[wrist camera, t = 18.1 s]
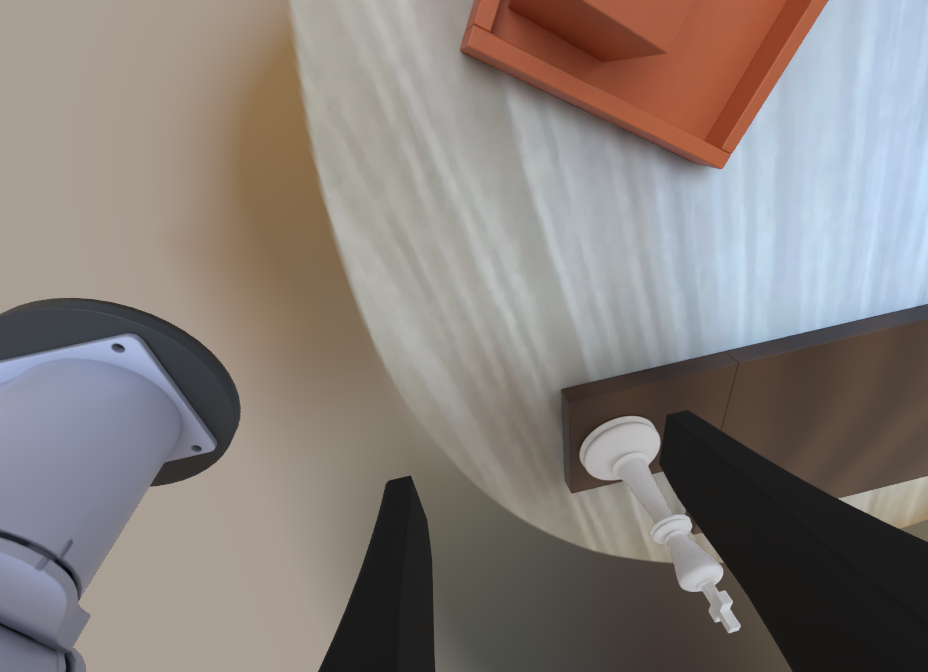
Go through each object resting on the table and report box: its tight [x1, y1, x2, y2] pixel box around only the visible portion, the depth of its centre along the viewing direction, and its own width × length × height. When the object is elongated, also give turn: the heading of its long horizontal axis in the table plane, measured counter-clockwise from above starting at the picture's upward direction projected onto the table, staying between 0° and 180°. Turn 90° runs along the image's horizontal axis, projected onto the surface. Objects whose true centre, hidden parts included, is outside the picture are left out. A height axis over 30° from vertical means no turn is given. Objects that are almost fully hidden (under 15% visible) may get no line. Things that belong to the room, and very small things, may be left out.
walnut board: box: [561, 305, 928, 535], centre depth 28 cm, size 32×18×1 cm, turn 99°
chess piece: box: [580, 416, 741, 633], centre depth 20 cm, size 5×5×10 cm
